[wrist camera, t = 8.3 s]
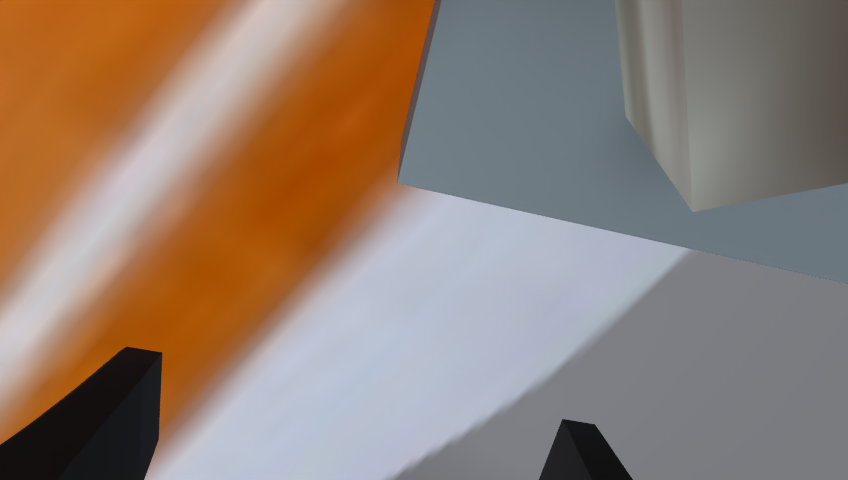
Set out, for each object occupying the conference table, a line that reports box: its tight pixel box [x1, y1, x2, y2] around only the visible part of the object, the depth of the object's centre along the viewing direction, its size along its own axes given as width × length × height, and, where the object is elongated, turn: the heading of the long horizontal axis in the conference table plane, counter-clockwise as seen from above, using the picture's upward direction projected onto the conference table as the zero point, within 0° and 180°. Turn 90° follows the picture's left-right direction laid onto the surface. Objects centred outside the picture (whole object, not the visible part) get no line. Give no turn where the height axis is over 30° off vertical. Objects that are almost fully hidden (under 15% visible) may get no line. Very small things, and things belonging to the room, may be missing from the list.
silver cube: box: [615, 0, 848, 212], centre depth 13 cm, size 5×5×5 cm
